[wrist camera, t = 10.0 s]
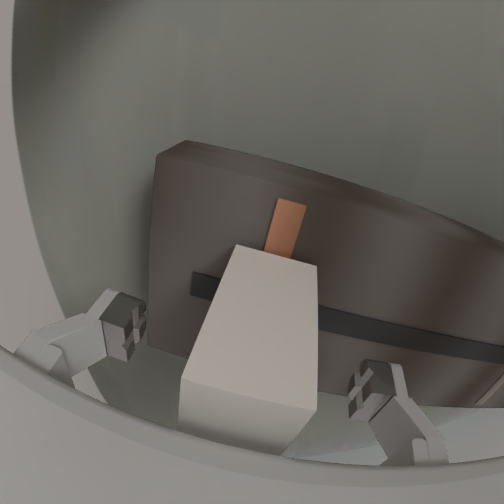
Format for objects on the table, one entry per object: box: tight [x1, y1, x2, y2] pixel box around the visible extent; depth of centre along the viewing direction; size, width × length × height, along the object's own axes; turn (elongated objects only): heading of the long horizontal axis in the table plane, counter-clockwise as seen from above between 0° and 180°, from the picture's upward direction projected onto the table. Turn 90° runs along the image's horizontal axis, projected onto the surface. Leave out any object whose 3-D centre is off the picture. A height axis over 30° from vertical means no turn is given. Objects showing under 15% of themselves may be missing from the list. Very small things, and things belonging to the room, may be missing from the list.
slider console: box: [148, 140, 504, 408], centre depth 14 cm, size 26×10×3 cm, turn 77°
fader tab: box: [177, 244, 318, 456], centre depth 10 cm, size 3×5×6 cm, turn 167°
